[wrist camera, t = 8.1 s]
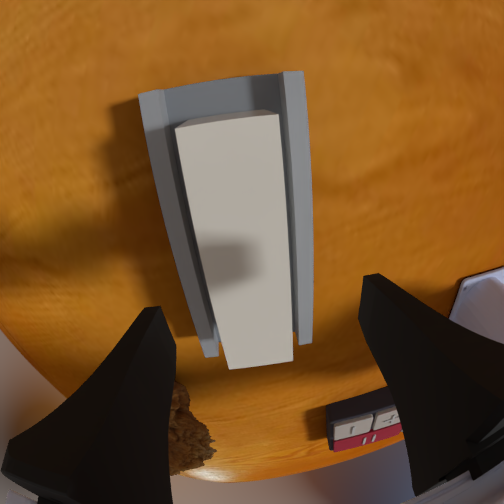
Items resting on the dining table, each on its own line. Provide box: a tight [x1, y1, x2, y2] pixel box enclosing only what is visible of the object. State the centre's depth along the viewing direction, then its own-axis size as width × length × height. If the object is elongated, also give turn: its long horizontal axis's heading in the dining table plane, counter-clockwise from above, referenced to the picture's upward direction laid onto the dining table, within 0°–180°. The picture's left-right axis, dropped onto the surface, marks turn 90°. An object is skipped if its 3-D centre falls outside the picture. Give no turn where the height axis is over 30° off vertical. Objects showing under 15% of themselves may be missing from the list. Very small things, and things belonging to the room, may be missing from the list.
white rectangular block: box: [175, 109, 293, 370], centre depth 16 cm, size 14×4×4 cm, turn 6°
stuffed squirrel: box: [168, 381, 217, 476], centre depth 22 cm, size 10×14×13 cm
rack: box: [138, 71, 313, 358], centre depth 18 cm, size 18×8×2 cm, turn 6°
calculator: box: [326, 387, 403, 452], centre depth 32 cm, size 11×4×15 cm
